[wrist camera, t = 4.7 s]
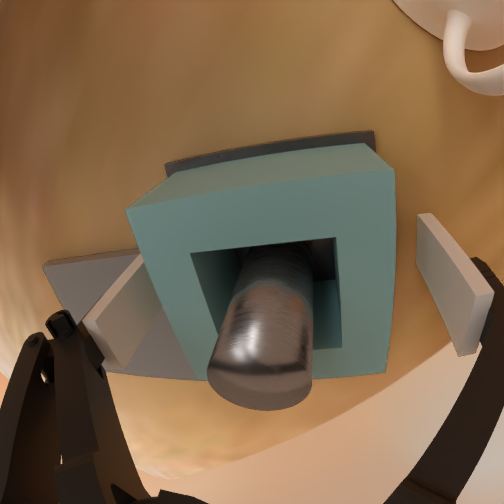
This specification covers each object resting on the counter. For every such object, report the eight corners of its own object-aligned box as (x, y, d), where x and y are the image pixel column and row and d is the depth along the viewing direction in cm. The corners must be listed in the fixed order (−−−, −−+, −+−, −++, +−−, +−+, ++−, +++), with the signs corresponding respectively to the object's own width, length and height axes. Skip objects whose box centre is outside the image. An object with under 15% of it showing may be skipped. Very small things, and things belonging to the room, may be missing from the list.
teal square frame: (175, 172, 15) (124, 209, 10) (364, 142, 13) (394, 169, 8) (220, 316, 19) (197, 379, 14) (371, 304, 17) (385, 372, 12)
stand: (167, 162, 15) (45, 246, 7) (371, 130, 13) (462, 191, 5) (216, 318, 19) (170, 442, 12) (378, 306, 17) (405, 443, 9)
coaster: (47, 261, 20) (41, 266, 19) (167, 244, 17) (161, 251, 17) (106, 364, 25) (102, 370, 24) (217, 373, 22) (214, 381, 22)
